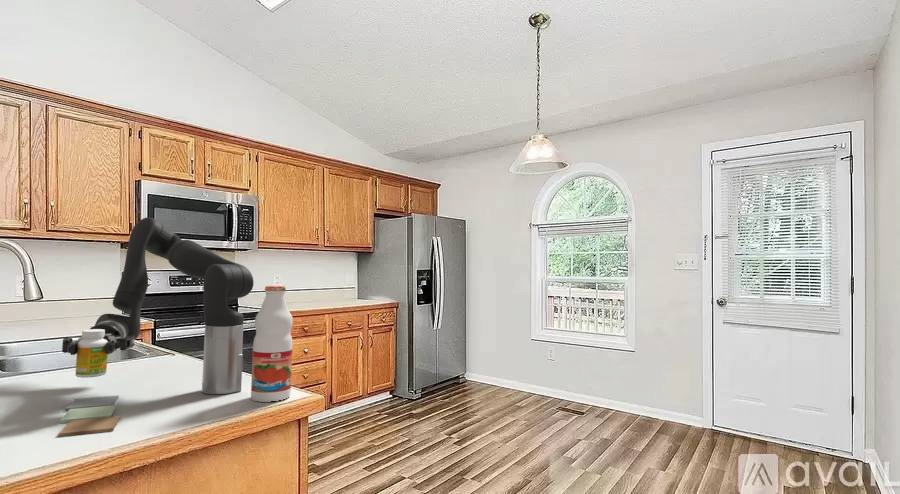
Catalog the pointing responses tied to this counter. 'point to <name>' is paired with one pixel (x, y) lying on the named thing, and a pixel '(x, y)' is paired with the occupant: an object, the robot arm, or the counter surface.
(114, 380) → the counter surface
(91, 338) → the supplement bottle
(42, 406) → the counter surface
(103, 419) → the walnut pad
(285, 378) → the fruit juice
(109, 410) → the sage pad
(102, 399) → the slate pad
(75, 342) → the robot arm
